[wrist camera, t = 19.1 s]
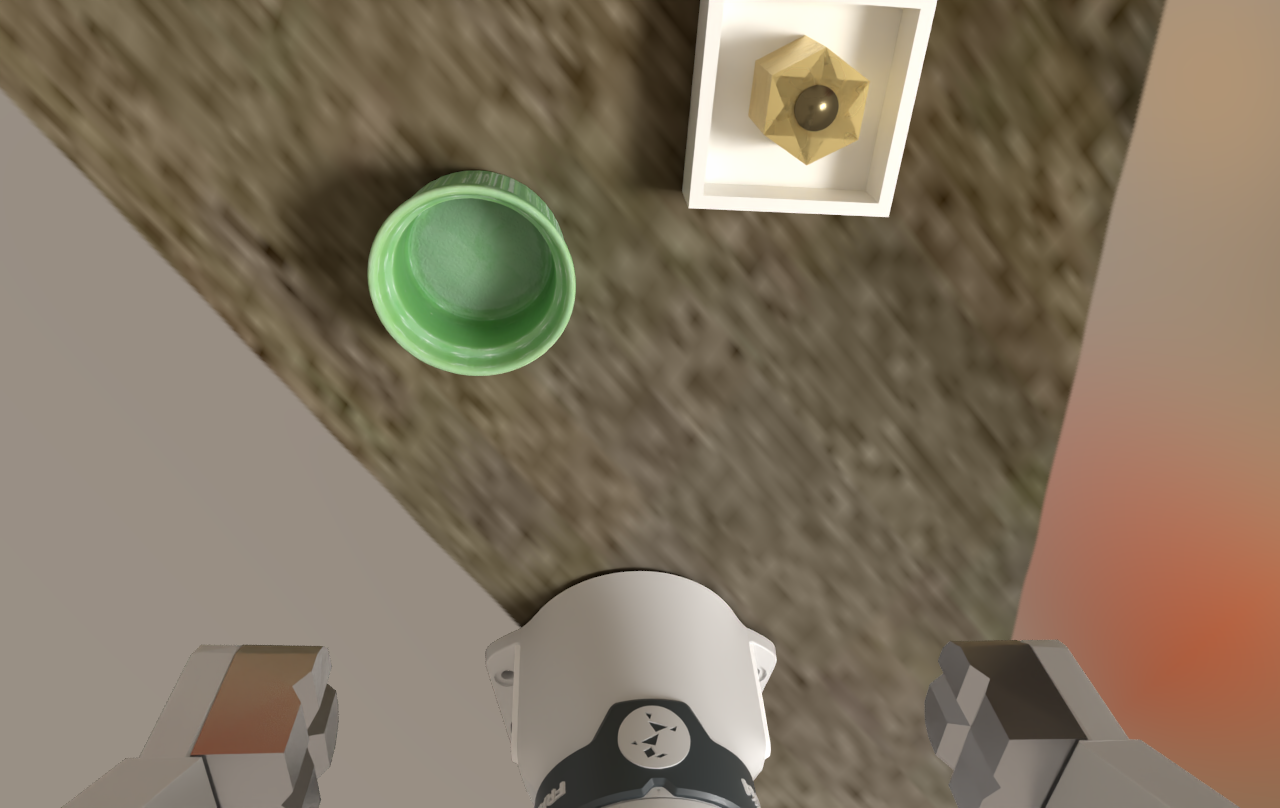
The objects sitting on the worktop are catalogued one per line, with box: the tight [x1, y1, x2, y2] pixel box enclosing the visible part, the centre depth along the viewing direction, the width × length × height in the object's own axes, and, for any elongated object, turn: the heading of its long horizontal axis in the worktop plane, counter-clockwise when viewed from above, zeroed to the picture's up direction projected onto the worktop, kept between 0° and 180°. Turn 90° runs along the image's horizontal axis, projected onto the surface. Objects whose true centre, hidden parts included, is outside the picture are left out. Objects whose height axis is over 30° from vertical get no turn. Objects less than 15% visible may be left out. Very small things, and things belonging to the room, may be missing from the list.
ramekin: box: [368, 170, 576, 376], centre depth 39 cm, size 9×9×4 cm
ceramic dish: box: [682, 0, 937, 217], centre depth 37 cm, size 9×9×2 cm
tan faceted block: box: [748, 35, 870, 165], centre depth 36 cm, size 5×4×4 cm
